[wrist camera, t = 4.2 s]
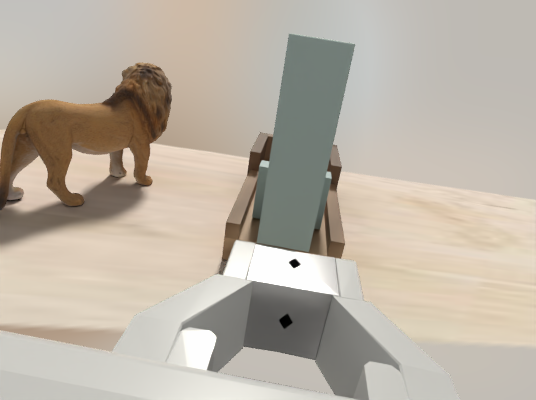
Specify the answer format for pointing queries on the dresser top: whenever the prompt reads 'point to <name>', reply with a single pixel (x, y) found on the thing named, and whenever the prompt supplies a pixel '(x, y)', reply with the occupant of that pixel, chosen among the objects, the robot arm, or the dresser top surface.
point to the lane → (247, 228)
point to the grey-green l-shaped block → (302, 142)
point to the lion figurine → (88, 132)
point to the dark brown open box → (263, 151)
